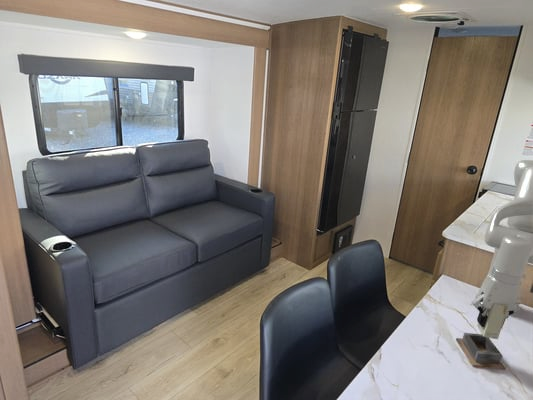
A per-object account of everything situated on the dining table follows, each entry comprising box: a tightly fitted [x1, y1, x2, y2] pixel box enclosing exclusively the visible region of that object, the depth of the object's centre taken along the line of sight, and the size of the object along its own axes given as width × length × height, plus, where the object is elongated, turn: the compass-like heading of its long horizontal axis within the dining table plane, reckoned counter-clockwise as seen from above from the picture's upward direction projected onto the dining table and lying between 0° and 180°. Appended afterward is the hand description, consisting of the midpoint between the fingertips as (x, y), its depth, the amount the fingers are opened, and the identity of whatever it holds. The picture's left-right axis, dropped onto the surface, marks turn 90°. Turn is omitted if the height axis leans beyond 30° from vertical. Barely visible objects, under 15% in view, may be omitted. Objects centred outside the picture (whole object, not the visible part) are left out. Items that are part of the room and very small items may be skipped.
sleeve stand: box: [455, 332, 506, 371], centre depth 116 cm, size 10×12×4 cm
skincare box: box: [476, 304, 509, 340], centre depth 111 cm, size 6×4×12 cm
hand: (489, 324), depth 112 cm, fingers closed on skincare box, 4 cm apart
